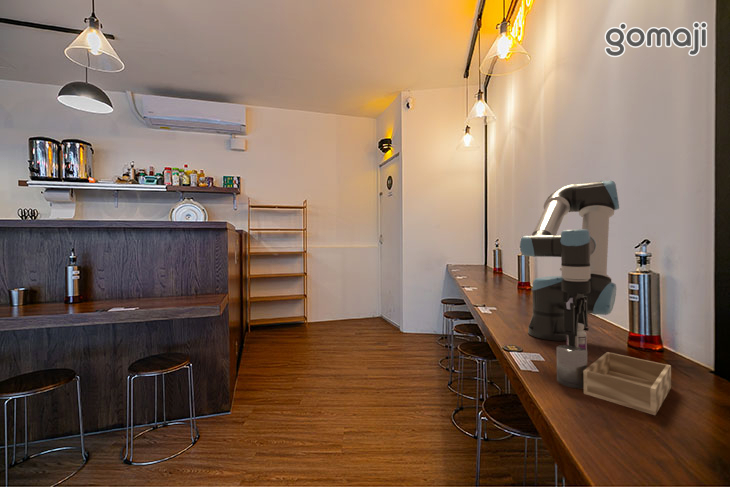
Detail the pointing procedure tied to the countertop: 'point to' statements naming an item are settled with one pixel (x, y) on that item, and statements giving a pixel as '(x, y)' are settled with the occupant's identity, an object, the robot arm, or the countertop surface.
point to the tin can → (571, 365)
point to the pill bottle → (581, 336)
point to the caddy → (628, 381)
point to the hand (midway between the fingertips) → (576, 353)
